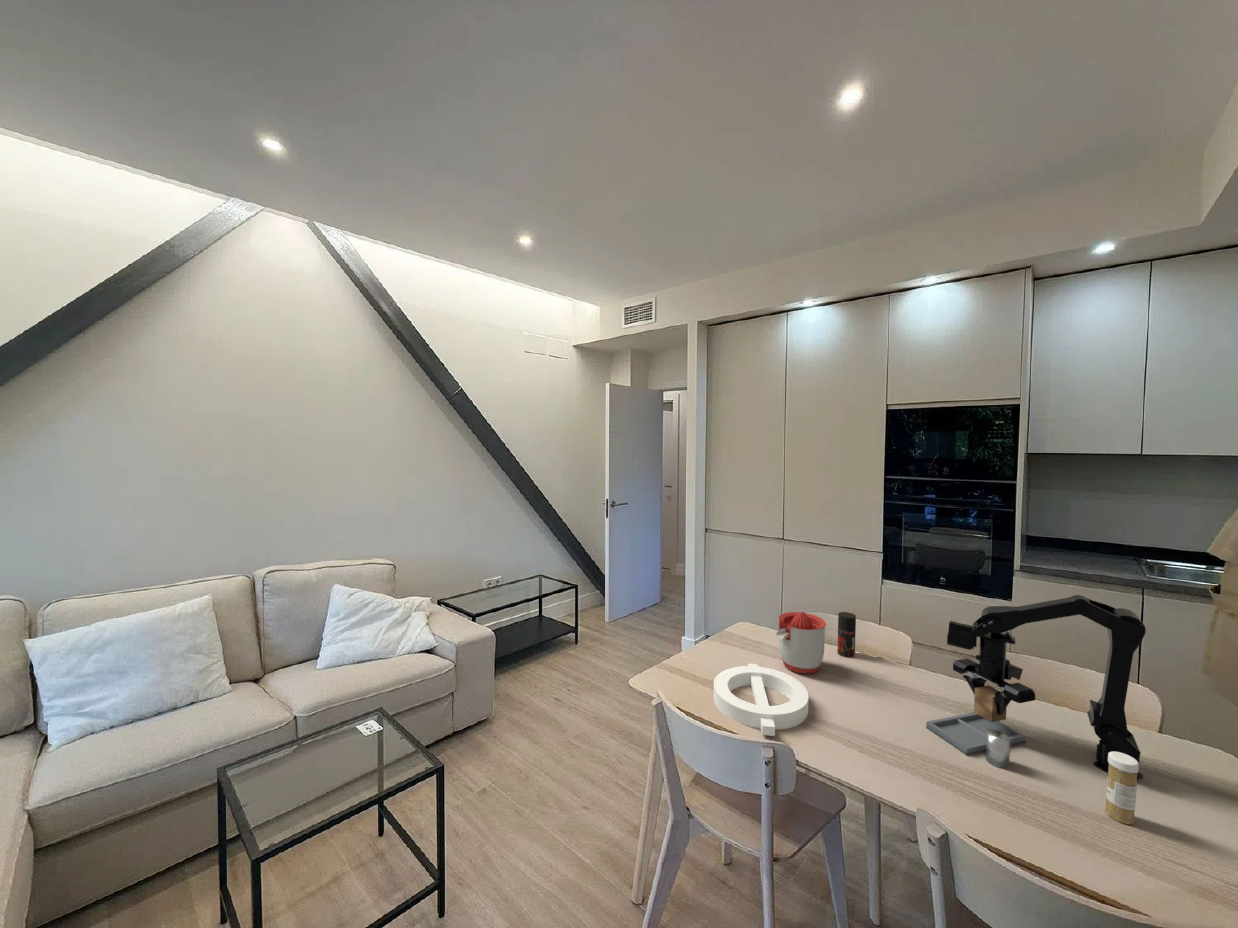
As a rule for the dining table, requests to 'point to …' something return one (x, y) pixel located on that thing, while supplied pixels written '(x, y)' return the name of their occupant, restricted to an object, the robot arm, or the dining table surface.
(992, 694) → the walnut block
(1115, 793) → the sprinkles bottle
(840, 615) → the deodorant
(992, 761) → the steel cylinder
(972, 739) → the tray
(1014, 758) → the dining table surface
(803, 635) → the citrus juicer
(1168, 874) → the dining table surface
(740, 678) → the ring with crossbar
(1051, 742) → the dining table surface
